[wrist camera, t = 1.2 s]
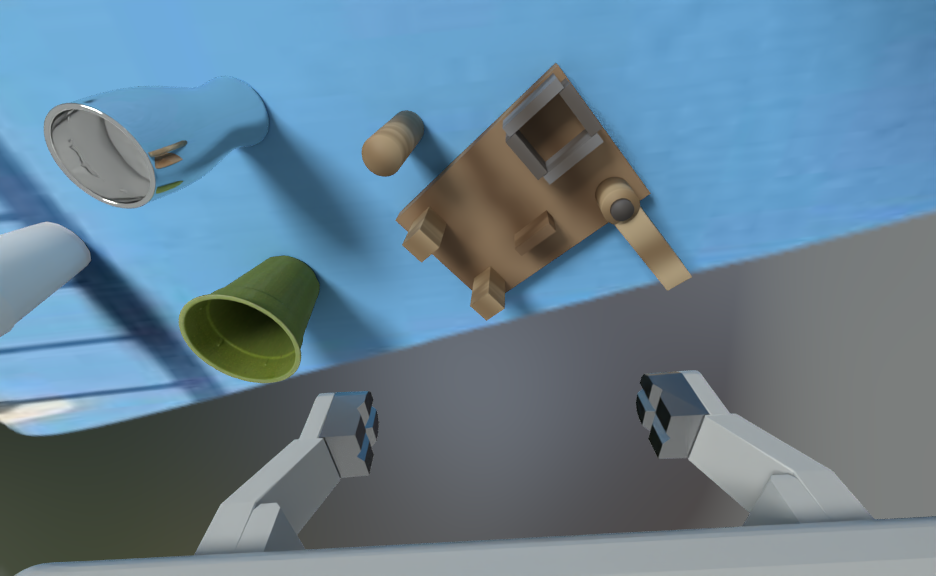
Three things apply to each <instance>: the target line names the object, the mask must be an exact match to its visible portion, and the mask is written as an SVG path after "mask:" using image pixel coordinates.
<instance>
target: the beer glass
mask: <svg viewBox="0 0 936 576" xmlns="http://www.w3.org/2000/svg"><path fill="white" fill-rule="evenodd" d="M268 128H269V117H268V113H267V110H266V107H265V105H264V103H263V101H262V99H261V98H260V97H259V95H258V94H257V93H256V92H255V91H254V90H253V89H252V88H251V87H250V86H249V85H248V84H246V83H245V82H243V81H241V80H239V79H237V78H234V77H230V76H219V77H215V78H213V79H211V80H209V81H208V82H206V83H204V84H203V85H201V86H199V87H193V88H187V87H168V86H137V87H129V88H122V89H116V90H112V91H108V92H103V93H99V94H96V95H93V96H89V97H86V98H83V99H80V100H77V101H74V102H70V103H65V104H60V105H58V106H56V107H54V108H53V109H51V110H50V111H49V113H48V114H47V116H46V118H45V121H44V136H45V141H46V144H47V147H48V149H49V151H50V153H51V155H52V157H53V159H54V160H55V162H56V163H57V165H58V166H59V167H60V169H61V170H62V171H63V172H64V174H65V175H66V176H67V177H68V178H69V179H70V180H71V181H72V182H73V183H74V184H76V185H77V186H78V187H79V188H80V189H82V190H83V191H84V192H86V193H87V194H89V195H90V196H92V197H94V198H95V199H97V200H99V201H101V202H104V203H106V204H109V205H112V206H115V207H120V208H137V207H141V206H143V205H145V204H147V203H149V202H151V201H154V200H157V199H160V198H162V197H165V196H167V195H170V194H172V193H175V192H177V191H179V190H181V189H183V188H185V187H187V186H189V185H191V184H192V183H194V182H196V181H197V180H199V179H201V178H202V177H203V176H205V175H206V174H207V173H208V172H210V171H211V170H212V169H213V168H214V167H215V166H216V165H217V164H218V163H220V162H221V161H222V160H223V159H224V158H225V157H226V156H227V155H228V154H229V153H230V152H231V151H233V150H234V149H237V148H242V147H249V146H253V145H256V144H258V143H260V142H261V141H262V140H263V139H264V138H265V136H266V134H267V132H268Z"/></svg>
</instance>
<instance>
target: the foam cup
mask: <svg viewBox="0 0 936 576" xmlns="http://www.w3.org/2000/svg"><path fill="white" fill-rule="evenodd" d="M90 261H91V256H90V251H89V249H88V248H87V246H86V245H85V243H84V242H83V241H82V240H81V239H80V238H79V237H78V236H77V235H76V234H75V233H73V232H72V231H70V230H68V229H67V228H65V227H63V226H61V225H59V224H55V223H50V222H44V223H40V224H36V225H32V226H28V227H25V228H22V229H18V230H15V231H11V232H8V233H5V234H1V235H0V337H1V336H3V335H4V334H6V333H7V332H9V331H11V329H12V328H13V327H14V325H15V324H16V323H17V322H18V321H20V320H21V319H22V318H23V317H24V316H26V315H27V314H28V313H29V312H31V311H32V310H33V309H34V308H36V307H37V306H38V305H39V304H41V303H42V302H43V301H44V300H46V299H47V298H48V297H49V296H50V295H52V294H53V293H54V292H55V291H57V290H58V289H59V288H60V287H62V286H63V285H64V284H65V283H67V282H68V281H69V280H70V279H72V278H73V277H74V276H75V275H76V274H78V273H79V272H80V271H81V270H83V269H84V267H86V266H87V265H88V264H89V262H90Z"/></svg>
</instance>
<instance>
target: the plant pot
mask: <svg viewBox="0 0 936 576" xmlns="http://www.w3.org/2000/svg"><path fill="white" fill-rule="evenodd" d="M319 290H320V285H319V282H318V281H317V278H316V276H315V273H314V272H313V271H312V269H311V268H310V267H308V266H307V265H306V264H305V263H303V262H302V261H300V260H298V259H296V258H293V257H289V256H276V257H270V258H269V259H267V260H265V261H264V262H262V263H261V264H259V265H258V266H256V267H255V268H253V269H252V270H250V271H249V272H247V273H246V274H244V275H242V276H241V277H239V278H238V279H236V280H235V281H233V282H232V283H230V284H229V285H227V286H226V287H224V288H221V289H218V290H216V291H214V292H213V293H211V294H209V295H203V296H199V297H197V298H194V299H192V300H191V301H189V302H188V303H187V304H186V305H185V306H184V307H183V308H182V310H181V312H180V315H179V327H180V331H181V334H182V336H183V338H184V340H185V342H186V343H187V344H188V346H189V347H190V348H191V350H192V351H193V352H194V353H195V354H196V355H197V356H198V357H199V358H201V359H202V360H203V361H204V362H206V363H207V364H208V365H210V366H212V367H214V368H215V369H216V370H218V371H220V372H222V373H224V374H226V375H229V376H231V377H234V378H238V379H241V380H245V381H249V382H257V383H272V382H278V381H282V380H284V379H287V378H289V377H290V376H291V375H293V374H294V373H295V372H296V370H297V369H298V367H299V365H300V361H301V350H300V349H301V346H302V342H303V335H304V332H305V329H306V327H307V324H308V321H309V319H310V316H311V313H312V310H313V308H314V305H315V302H316V299H317V297H318V294H319Z"/></svg>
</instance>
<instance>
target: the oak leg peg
mask: <svg viewBox="0 0 936 576" xmlns="http://www.w3.org/2000/svg"><path fill="white" fill-rule="evenodd" d="M423 134H424V125H423V122H422V120H421V118H420V117H419V116H418V115H417V114H416V113H414V112H412V111H401V112H399V113H398V114H397V115H395V116H394V117H393V118H392V119H391V120H390V121H388V122H387V123H386V124H385V125H384V126H383V127H381V128H380V129H379V130H378V131H377V132H376V133H374V134H373V135H372V136H371V137H370V138H369V139H367V140H366V142H365V143H364V145H363V147H362V158H363V161H364V163H365V165H366V167H367V168H368V169H369V170H370V171H371V172H373V173H374V174H376V175H379V176H391V175H393V174H395V173H396V172H397V171H398V170H399V168H400V167H401V166H402V164H403V163H404V162H405V160H406V159H407V158H408V156H409V155H410V153H411V152H412V151H413V149H414V148H415V147H416V145H417V144H418V142H419V141H420V140H421V138H422V137H423Z"/></svg>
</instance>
